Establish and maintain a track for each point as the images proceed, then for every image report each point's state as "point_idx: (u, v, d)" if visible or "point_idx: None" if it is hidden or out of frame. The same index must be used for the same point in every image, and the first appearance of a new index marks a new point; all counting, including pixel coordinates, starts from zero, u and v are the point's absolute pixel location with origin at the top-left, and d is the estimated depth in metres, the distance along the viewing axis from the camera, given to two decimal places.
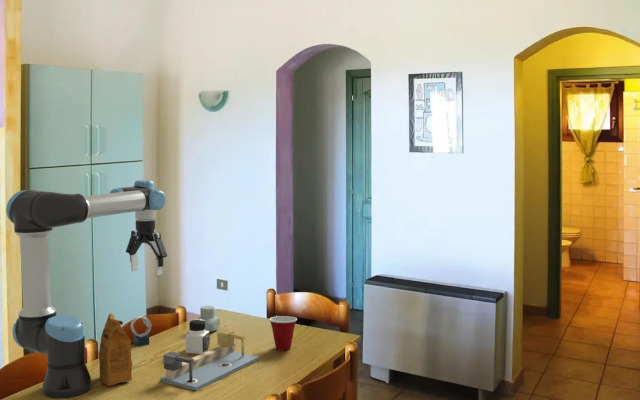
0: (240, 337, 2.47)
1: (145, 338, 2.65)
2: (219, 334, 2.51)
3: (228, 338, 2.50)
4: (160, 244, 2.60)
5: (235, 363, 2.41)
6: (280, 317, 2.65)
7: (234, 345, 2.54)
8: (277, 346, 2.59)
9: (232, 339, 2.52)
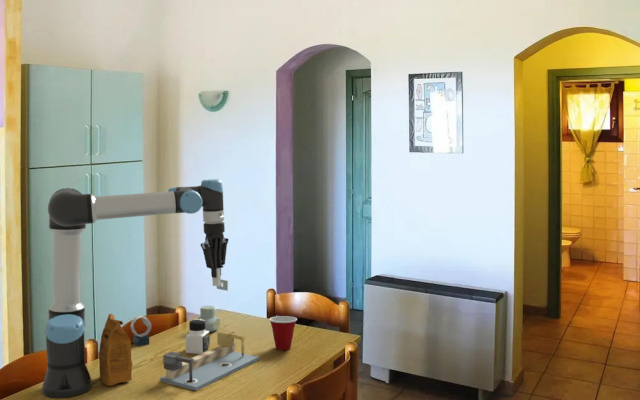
0: (240, 337, 2.47)
1: (145, 338, 2.65)
2: (219, 334, 2.51)
3: (228, 338, 2.50)
4: (205, 255, 2.42)
5: (235, 363, 2.41)
6: (280, 317, 2.65)
7: (234, 345, 2.54)
8: (277, 346, 2.59)
9: (232, 339, 2.52)
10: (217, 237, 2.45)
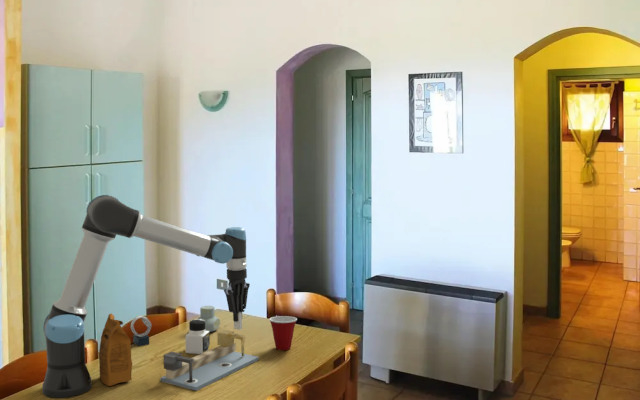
0: (240, 337, 2.47)
1: (145, 338, 2.65)
2: (219, 334, 2.51)
3: (228, 338, 2.50)
4: (228, 300, 2.53)
5: (235, 363, 2.41)
6: (280, 317, 2.65)
7: (234, 345, 2.54)
8: (277, 346, 2.59)
9: (232, 339, 2.52)
10: (239, 283, 2.55)
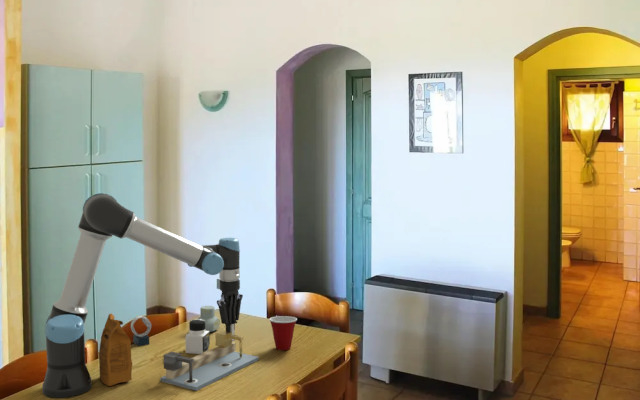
0: (238, 338, 2.46)
1: (145, 338, 2.65)
2: (217, 335, 2.50)
3: (226, 339, 2.49)
4: (221, 312, 2.49)
5: (235, 363, 2.41)
6: (280, 317, 2.65)
7: (234, 345, 2.54)
8: (277, 346, 2.59)
9: (230, 340, 2.51)
10: (232, 294, 2.52)
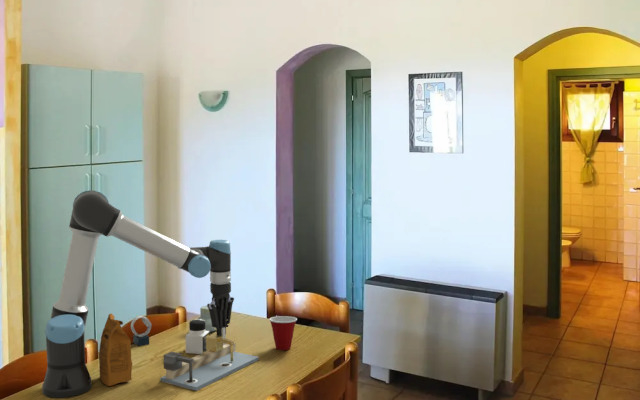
0: (229, 342, 2.42)
1: (145, 338, 2.65)
2: (208, 339, 2.45)
3: (217, 343, 2.44)
4: (211, 315, 2.45)
5: (235, 363, 2.41)
6: (280, 317, 2.65)
7: (234, 345, 2.54)
8: (277, 346, 2.59)
9: (221, 344, 2.46)
10: (223, 297, 2.48)
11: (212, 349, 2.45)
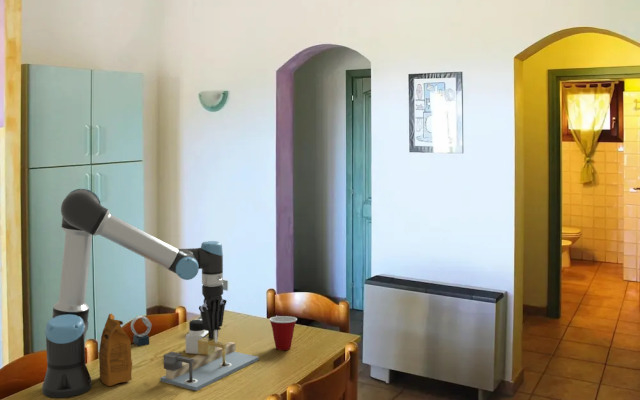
0: (221, 345, 2.38)
1: (145, 338, 2.65)
2: (199, 342, 2.41)
3: (209, 346, 2.40)
4: (203, 318, 2.41)
5: (235, 363, 2.41)
6: (280, 317, 2.65)
7: (234, 345, 2.54)
8: (277, 346, 2.59)
9: (213, 347, 2.42)
10: (215, 299, 2.44)
11: (204, 353, 2.41)
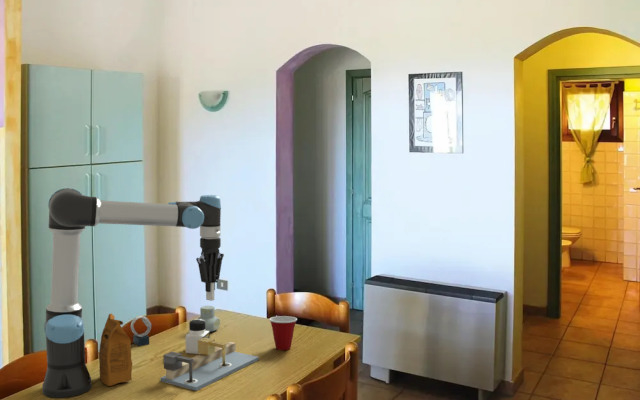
0: (221, 345, 2.38)
1: (145, 338, 2.65)
2: (199, 342, 2.41)
3: (209, 346, 2.40)
4: (200, 270, 2.46)
5: (235, 363, 2.41)
6: (280, 317, 2.65)
7: (234, 345, 2.54)
8: (277, 346, 2.59)
9: (213, 347, 2.42)
10: (213, 252, 2.49)
11: (204, 353, 2.41)
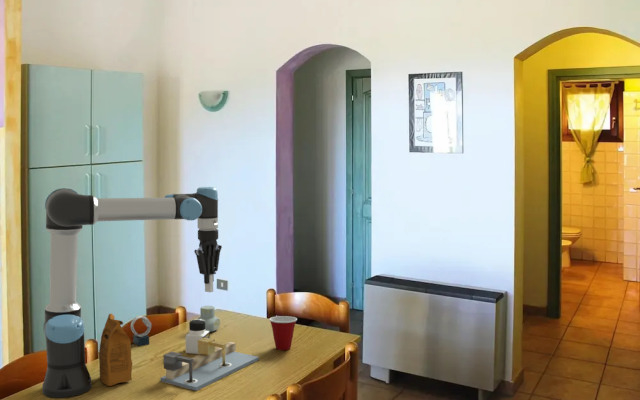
0: (221, 345, 2.38)
1: (145, 338, 2.65)
2: (199, 342, 2.41)
3: (209, 346, 2.40)
4: (199, 262, 2.46)
5: (235, 363, 2.41)
6: (280, 317, 2.65)
7: (234, 345, 2.54)
8: (277, 346, 2.59)
9: (213, 347, 2.42)
10: (211, 244, 2.49)
11: (204, 353, 2.41)
